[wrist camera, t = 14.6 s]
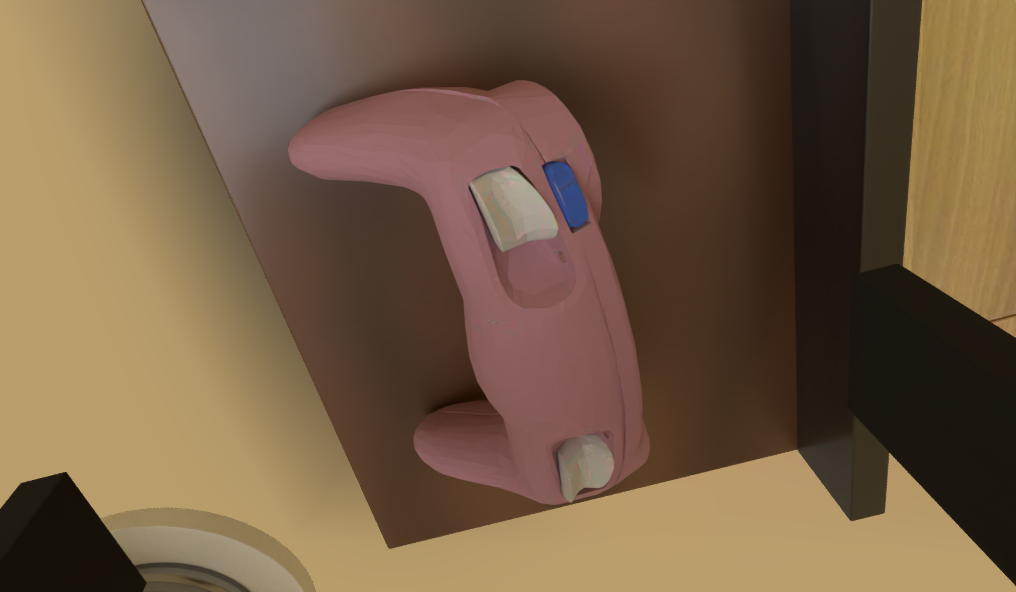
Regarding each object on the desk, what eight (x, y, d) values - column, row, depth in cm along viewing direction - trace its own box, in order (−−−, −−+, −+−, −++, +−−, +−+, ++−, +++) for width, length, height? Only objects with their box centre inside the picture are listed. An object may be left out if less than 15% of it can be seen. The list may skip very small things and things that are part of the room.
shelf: (391, 515, 22) (381, 635, 18) (134, -75, 14) (13, -92, 10) (804, 414, 22) (885, 514, 18) (798, -247, 14) (948, -334, 10)
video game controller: (537, 377, 20) (711, 496, 15) (410, 456, 18) (552, 625, 13) (442, 53, 16) (643, 45, 10) (261, 118, 14) (381, 152, 8)
